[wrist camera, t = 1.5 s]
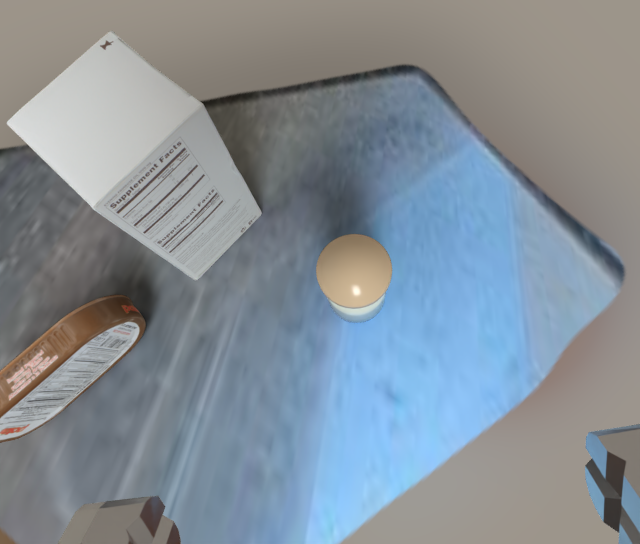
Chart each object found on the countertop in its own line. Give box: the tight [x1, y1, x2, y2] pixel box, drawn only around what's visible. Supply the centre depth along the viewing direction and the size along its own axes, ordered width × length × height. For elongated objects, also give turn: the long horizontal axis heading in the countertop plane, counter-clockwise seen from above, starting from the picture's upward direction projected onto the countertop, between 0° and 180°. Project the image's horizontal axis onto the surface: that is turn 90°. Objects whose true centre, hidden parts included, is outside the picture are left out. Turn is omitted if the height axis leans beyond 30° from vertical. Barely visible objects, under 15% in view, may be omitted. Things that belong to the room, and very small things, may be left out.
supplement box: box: [7, 31, 262, 280], centre depth 35 cm, size 10×9×17 cm
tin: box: [0, 295, 146, 443], centre depth 36 cm, size 15×3×8 cm, turn 133°
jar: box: [316, 234, 392, 323], centre depth 36 cm, size 5×5×8 cm
